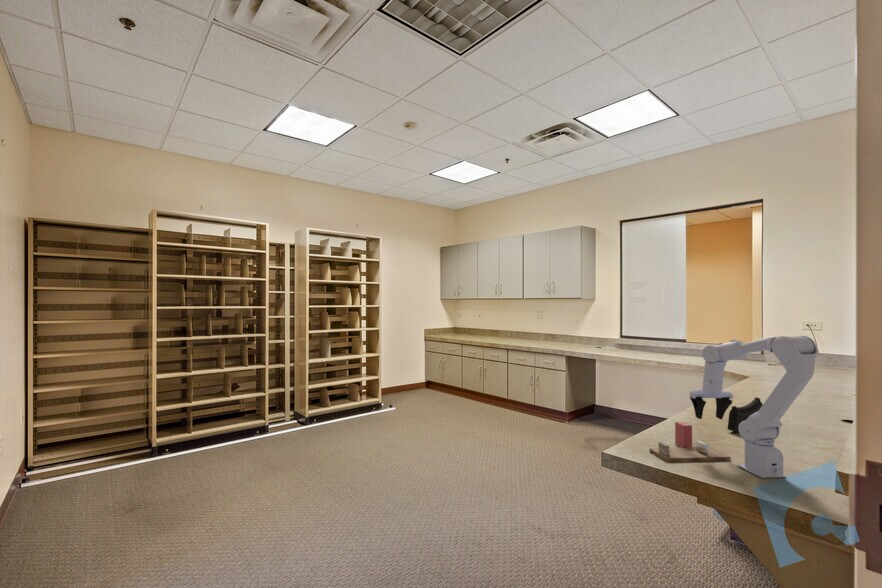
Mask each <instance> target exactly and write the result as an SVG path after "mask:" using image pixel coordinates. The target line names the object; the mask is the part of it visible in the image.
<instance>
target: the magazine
mask: <svg viewBox="0 0 882 588" xmlns="http://www.w3.org/2000/svg"><path fill="white" fill-rule="evenodd" d="M763 404H764V403H762V401H761V398H760V397H757V396H756V397H754V398H753V400H752V401H751V402H749V403H747V404H746V405H744V406H739V407H737V406H736V405H733V406H731V409H730V410H729V412H728V421H727V431H728V430H729V431H731V432H739V429H738V428H739V424H740V423H741V422H742V421H745V420H747V419H748V417H749V416H750V415H752V414H754V413H756V412H757V411H759V409H760V408H761V407H762V405H763Z"/></svg>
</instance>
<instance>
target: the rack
mask: <svg viewBox="0 0 882 588" xmlns="http://www.w3.org/2000/svg"><path fill="white" fill-rule="evenodd" d="M651 452H652V453H651ZM649 453H651V454H653V455H655V456H656V455H657V456H656V457H658V458H659V459H661V460H663V461H665V462H667V463H681V462H682V463H684V462H685V463H687V462H691V463H692V462H715V461H716V462H719V461H721V462H722V461H723V462H725V461H731V460H732V459H731V457H732V456H730V455H728V454H725V453H723V452H721V451H719V450H717V449H715V448H713V447H710V446H708V453H702V452H700V451H698V450H696V446H692V447H681V446H679V447H677V446H676V447H670V445H668V444H667V443H664V442H663V441H658V447H650V448H649Z"/></svg>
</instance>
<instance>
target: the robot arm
mask: <svg viewBox="0 0 882 588" xmlns="http://www.w3.org/2000/svg"><path fill="white" fill-rule="evenodd" d="M765 351H768V353H773V354H774V356H775V357H776V358H777V359H778V361H779V363H780V364H781V365H782V366H783V368H784V369H785V373H784V374H783V376H782V378H781V379H780V380H779V382H778V383H777V385H776V386H775V387H774V388H773V390H771V391H772V392H771V393H770V394H769V395H768V397H767V398H766V400H765V401H764V403H762V404H763V405H762V407H761V408H760V409H759V411H757V412H756V413H754V414H752V415H750V416H749V417H748V419H747V420H745V421H742V422H741V423H740V424H739V428H738V429H739V431H738V432H739V435H740V436H741V438H742V439H743V441H744V464H743V463H741V464H737V467H739V468H741V469H742V470H745V471H747V472H749V473H751V474H753V475H755V476H758V477H760V478H764V479H765V478H767V479H769V478H786V477H787V475H786V474H784V455H783V452H782V451H781V450H780V449H779V448H777V447H776V446H775V444H774V443H776V442H775V439H777V438H778V437H779V435H780V429H781V428H782V426H783V423H782V422H781V419H782V418H783V416H785V414H786V412H787V411H788V409H790V408H791V405H792V404H793V403H794V402H795V400H797V398H798V397H799V395H800V394H801V393H802V391H803V390H804V389H805V388H806V386H807V384H808V383H809V382H810V381H811V380H812V378H813V376H814V373H815V363H816V357H818V354H819V353H820V351H819V348H818V347H817V344H816V342H815V341H814V339H813V338H811V337H810V336H807V335H798V336H784V335H782V336H781V335H780V336H769V337H764V338H760V339H757V340H752V341H747V342H744V341H742V340H738V339H730V341H729V342H725V343H724V342H718V343H717V344H716V345H711V344H710V345H709V344H708V345H706V346H705V347H703V349H702V351H701V356H702V359H703V360H704V368H703V369H704V371H703V379H702V388H701V389H699V390H691V391H689V399H690V400H691V403H692V406H693V409H694V414H695V415H694V416H695V418H696V419H699V420H702V418H703V414H704V413H703V412H704V408H705V405H706V404H707V401H706V400H704V399H705V398H706V399H715V406H716V408H715V416H716V418H717V419H718V420H723V418H724V416H725V414H726V411H727V410H728V408H730V406H731V405H732V404H733V399H734V393H733V392H730V391H723V384H724V376H725V373H724V372H725V367H726V366H727V362H728V361H729V362H730V361H734V360H735V361H736V360H741V359H744V358H747V357H748V355H749V354H750V353H758V352H765Z"/></svg>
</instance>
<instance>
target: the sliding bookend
mask: <svg viewBox="0 0 882 588" xmlns="http://www.w3.org/2000/svg"><path fill="white" fill-rule="evenodd" d="M695 445H696V446H695V447H696V450H698V451H700V452H702V453H708V447H709V446H708V444H707V443H705V442H704V441H701V440H695Z"/></svg>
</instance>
